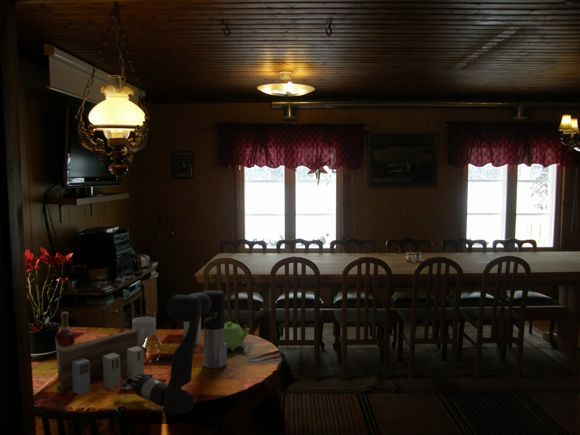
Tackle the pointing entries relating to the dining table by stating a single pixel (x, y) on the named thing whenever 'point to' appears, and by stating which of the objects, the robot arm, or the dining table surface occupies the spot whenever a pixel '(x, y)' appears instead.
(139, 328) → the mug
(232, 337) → the teapot
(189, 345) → the robot arm
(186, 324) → the milk carton
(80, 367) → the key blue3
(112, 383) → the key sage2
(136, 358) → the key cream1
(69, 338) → the liquor
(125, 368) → the backboard
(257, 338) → the dining table surface
